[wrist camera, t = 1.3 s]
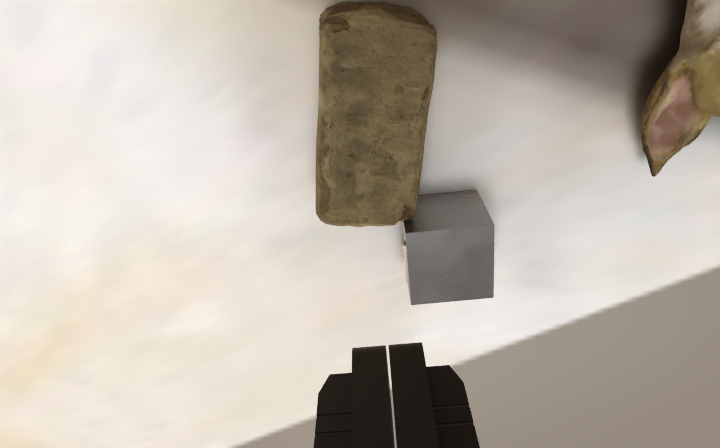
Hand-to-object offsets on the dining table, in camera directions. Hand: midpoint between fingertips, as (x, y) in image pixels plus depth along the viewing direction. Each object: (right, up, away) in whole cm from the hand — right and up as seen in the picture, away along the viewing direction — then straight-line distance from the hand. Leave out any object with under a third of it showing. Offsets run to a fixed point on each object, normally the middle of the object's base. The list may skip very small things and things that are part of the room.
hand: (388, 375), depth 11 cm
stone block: (0, +10, +20) cm, 23 cm away
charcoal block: (+5, +3, +24) cm, 24 cm away
